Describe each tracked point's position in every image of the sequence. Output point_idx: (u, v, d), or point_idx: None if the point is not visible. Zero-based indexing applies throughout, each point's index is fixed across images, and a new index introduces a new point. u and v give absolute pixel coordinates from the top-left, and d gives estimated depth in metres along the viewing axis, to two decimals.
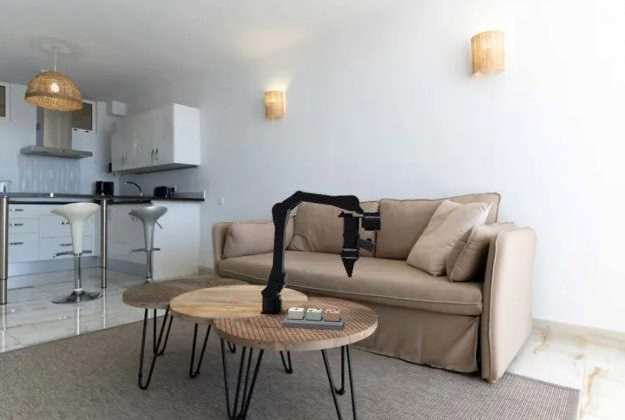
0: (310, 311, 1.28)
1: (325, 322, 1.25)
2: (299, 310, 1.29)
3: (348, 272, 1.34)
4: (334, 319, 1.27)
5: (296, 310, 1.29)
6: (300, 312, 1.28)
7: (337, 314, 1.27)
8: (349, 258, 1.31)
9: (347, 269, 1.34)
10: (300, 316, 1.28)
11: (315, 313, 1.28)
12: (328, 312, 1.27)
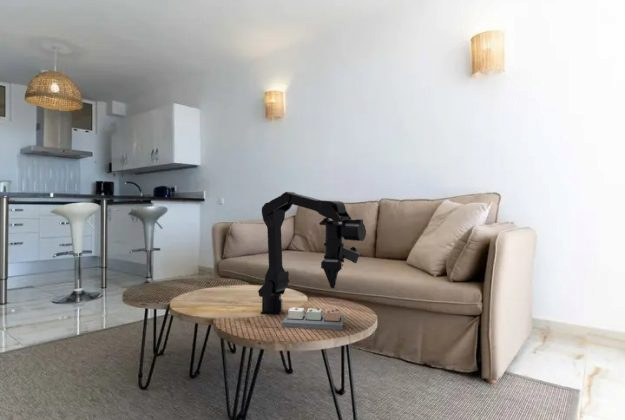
0: (310, 311, 1.28)
1: (325, 322, 1.25)
2: (299, 310, 1.29)
3: (331, 283, 1.27)
4: (334, 319, 1.27)
5: (296, 310, 1.29)
6: (300, 312, 1.28)
7: (337, 314, 1.27)
8: (331, 268, 1.24)
9: (329, 279, 1.27)
10: (300, 316, 1.28)
11: (315, 313, 1.28)
12: (328, 312, 1.27)
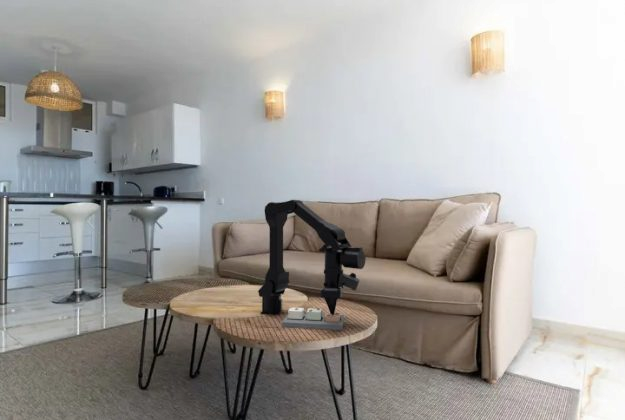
0: (310, 311, 1.28)
1: (325, 322, 1.25)
2: (299, 310, 1.29)
3: (330, 309, 1.28)
4: None
5: (296, 310, 1.29)
6: (300, 312, 1.28)
7: (337, 318, 1.27)
8: None
9: (329, 306, 1.28)
10: (300, 316, 1.28)
11: (315, 313, 1.28)
12: (328, 316, 1.27)
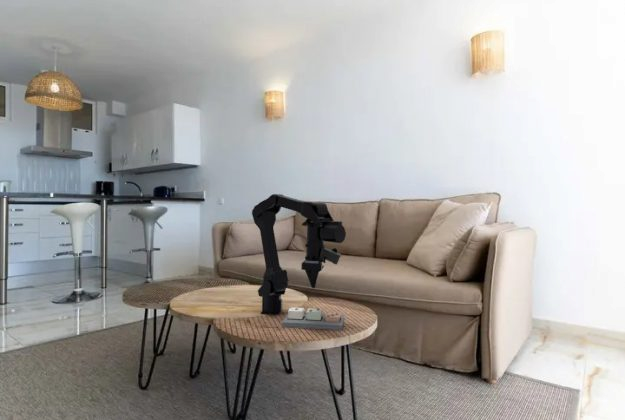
0: (310, 311, 1.28)
1: (325, 322, 1.25)
2: (299, 310, 1.29)
3: (312, 282, 1.29)
4: None
5: (296, 310, 1.29)
6: (300, 312, 1.28)
7: (337, 318, 1.27)
8: None
9: (311, 279, 1.29)
10: (300, 316, 1.28)
11: (315, 313, 1.28)
12: (328, 316, 1.27)
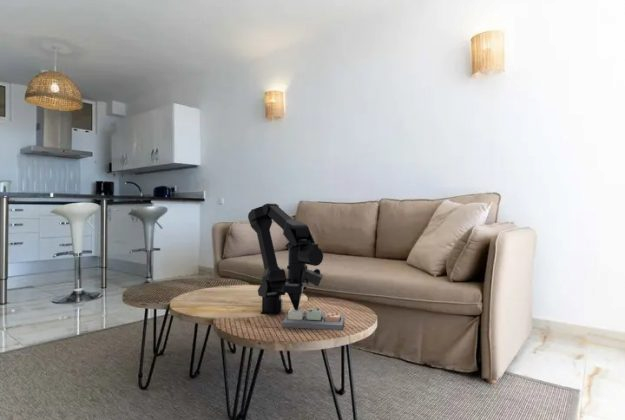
0: (310, 311, 1.28)
1: (325, 322, 1.25)
2: (299, 311, 1.29)
3: (294, 304, 1.30)
4: None
5: (296, 311, 1.29)
6: (300, 313, 1.28)
7: (337, 318, 1.27)
8: None
9: (293, 301, 1.30)
10: (300, 316, 1.28)
11: (315, 313, 1.28)
12: (328, 316, 1.27)
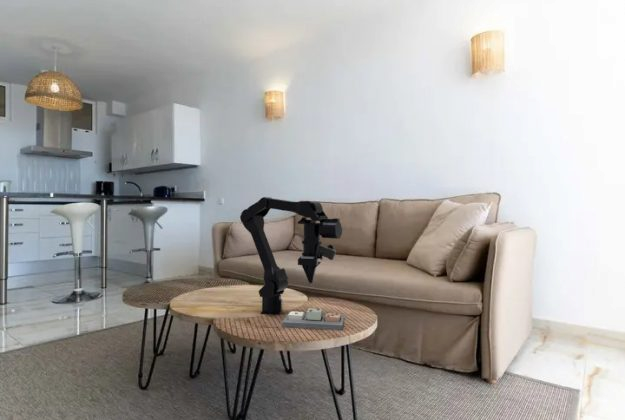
0: (310, 311, 1.28)
1: (325, 322, 1.25)
2: (299, 314, 1.29)
3: (309, 278, 1.35)
4: None
5: (296, 314, 1.29)
6: (300, 316, 1.28)
7: (337, 318, 1.27)
8: (309, 264, 1.32)
9: (308, 275, 1.35)
10: None
11: (315, 313, 1.28)
12: (328, 316, 1.27)
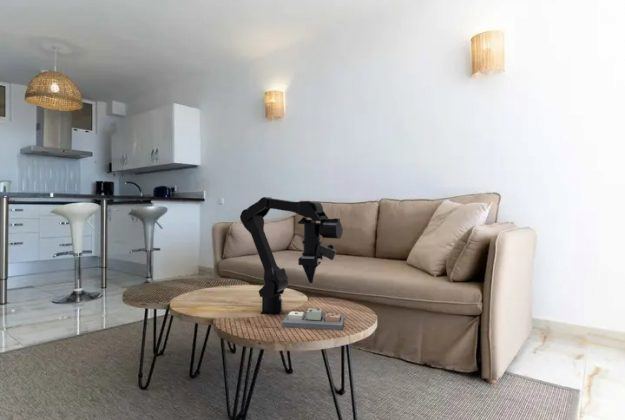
0: (310, 311, 1.28)
1: (325, 322, 1.25)
2: (299, 314, 1.29)
3: (309, 278, 1.35)
4: None
5: (296, 314, 1.29)
6: (300, 316, 1.28)
7: (337, 318, 1.27)
8: None
9: (308, 275, 1.35)
10: None
11: (315, 313, 1.28)
12: (328, 316, 1.27)
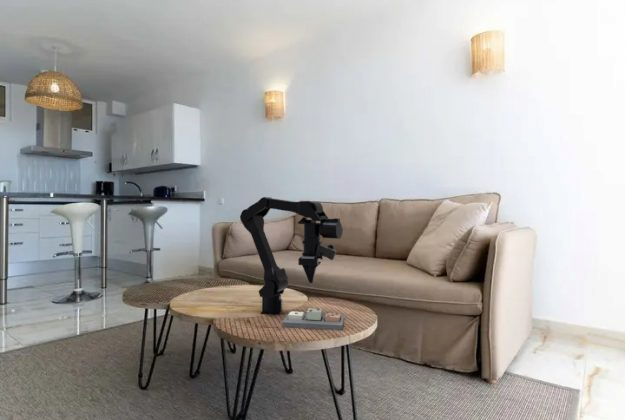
0: (310, 311, 1.28)
1: (325, 322, 1.25)
2: (299, 314, 1.29)
3: (309, 278, 1.35)
4: None
5: (296, 314, 1.29)
6: (300, 316, 1.28)
7: (337, 318, 1.27)
8: None
9: (308, 275, 1.35)
10: None
11: (315, 313, 1.28)
12: (328, 316, 1.27)
